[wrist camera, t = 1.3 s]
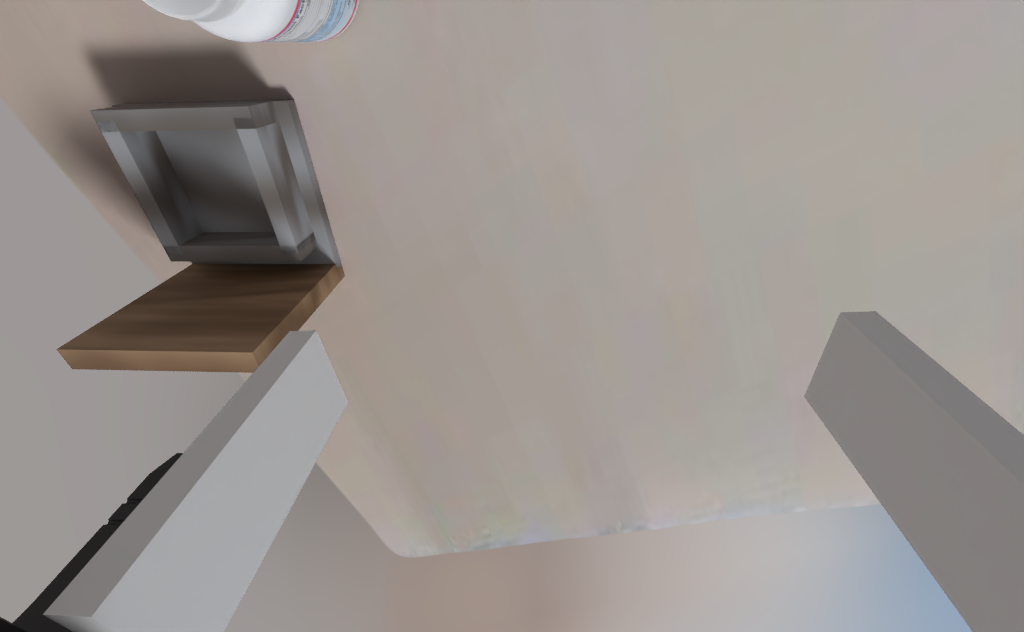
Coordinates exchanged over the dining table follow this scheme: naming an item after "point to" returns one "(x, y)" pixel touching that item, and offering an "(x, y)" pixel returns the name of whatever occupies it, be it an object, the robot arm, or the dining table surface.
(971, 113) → the dining table surface
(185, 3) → the pill bottle
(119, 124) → the cup bracket
